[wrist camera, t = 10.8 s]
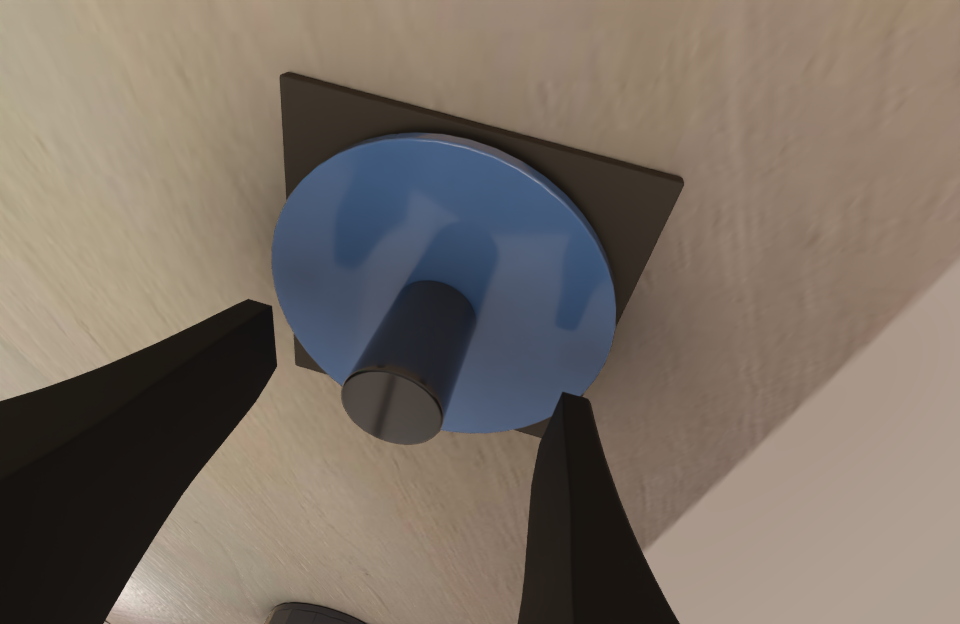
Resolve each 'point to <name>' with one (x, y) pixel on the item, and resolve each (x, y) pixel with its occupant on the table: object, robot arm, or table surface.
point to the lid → (442, 286)
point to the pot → (307, 615)
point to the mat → (580, 175)
